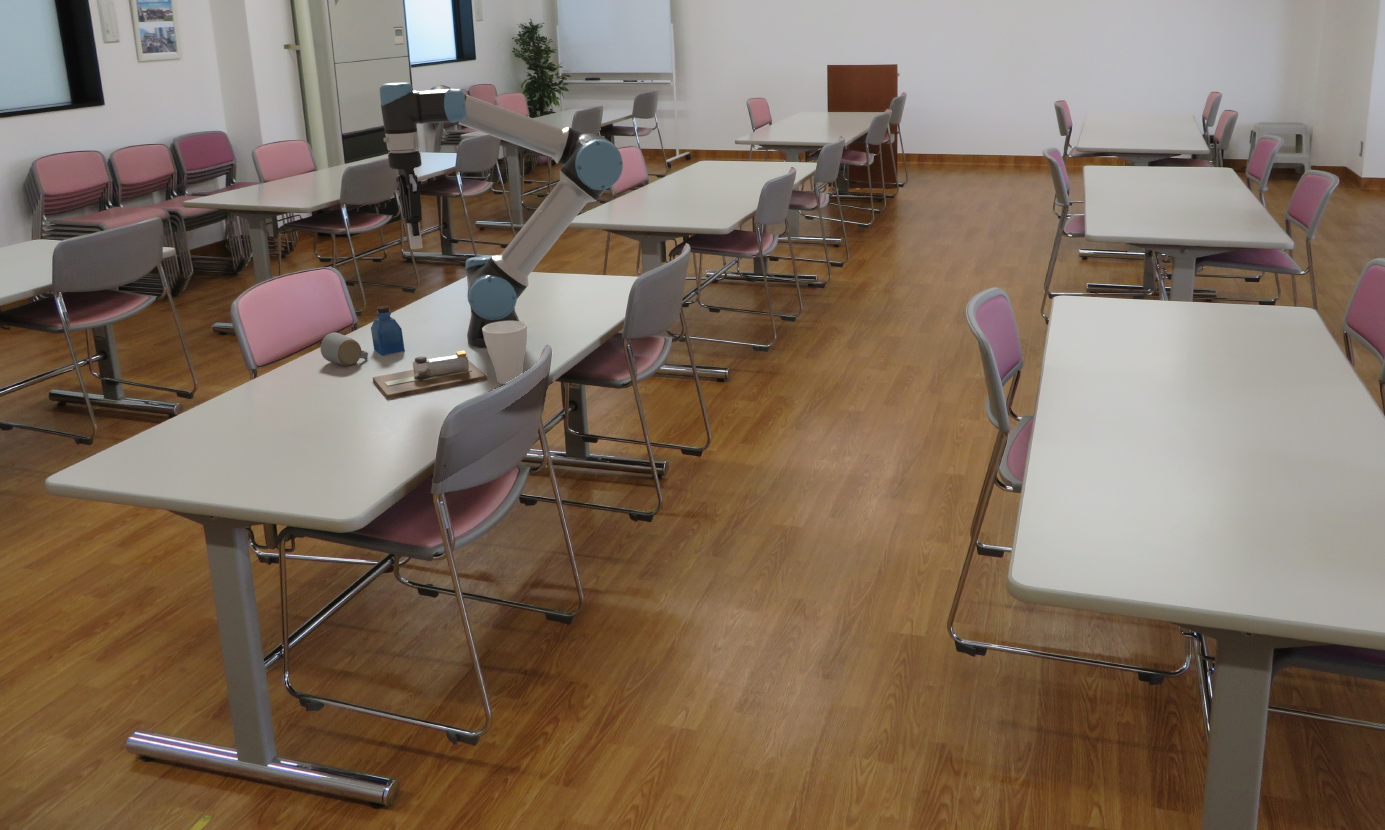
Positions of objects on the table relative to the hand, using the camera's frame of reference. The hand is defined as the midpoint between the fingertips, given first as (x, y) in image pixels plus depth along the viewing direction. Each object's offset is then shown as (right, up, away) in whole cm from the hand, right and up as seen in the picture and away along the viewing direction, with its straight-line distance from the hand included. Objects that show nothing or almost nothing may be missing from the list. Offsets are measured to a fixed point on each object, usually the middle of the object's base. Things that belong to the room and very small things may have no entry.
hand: (416, 248), depth 262 cm
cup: (+24, -33, -6) cm, 41 cm away
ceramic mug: (-21, -28, +13) cm, 37 cm away
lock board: (+4, -33, -3) cm, 33 cm away
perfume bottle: (-13, -24, +21) cm, 34 cm away
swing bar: (+7, -31, -3) cm, 32 cm away
